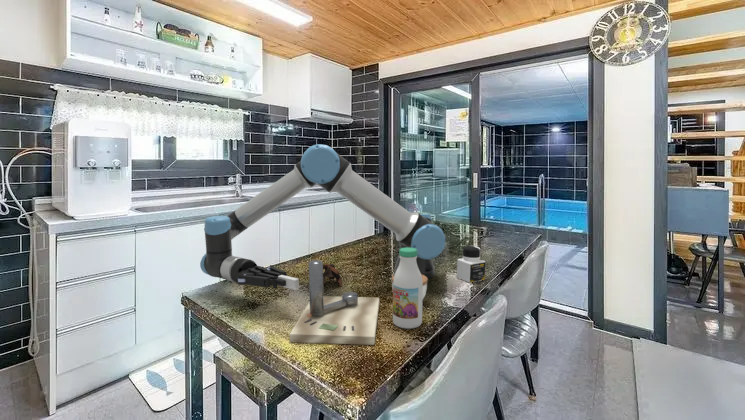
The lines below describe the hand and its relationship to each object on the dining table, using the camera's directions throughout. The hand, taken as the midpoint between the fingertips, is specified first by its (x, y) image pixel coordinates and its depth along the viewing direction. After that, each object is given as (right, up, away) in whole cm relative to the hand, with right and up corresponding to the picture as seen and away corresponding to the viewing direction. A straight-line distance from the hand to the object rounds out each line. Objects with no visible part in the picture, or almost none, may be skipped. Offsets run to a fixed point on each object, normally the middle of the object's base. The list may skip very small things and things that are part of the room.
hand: (296, 284), depth 96 cm
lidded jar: (+32, -8, +12) cm, 35 cm away
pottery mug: (+5, -6, +28) cm, 29 cm away
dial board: (+12, -10, -1) cm, 15 cm away
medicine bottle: (+56, -5, +33) cm, 65 cm away
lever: (+10, -7, +1) cm, 12 cm away
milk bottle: (+30, -10, -2) cm, 31 cm away
